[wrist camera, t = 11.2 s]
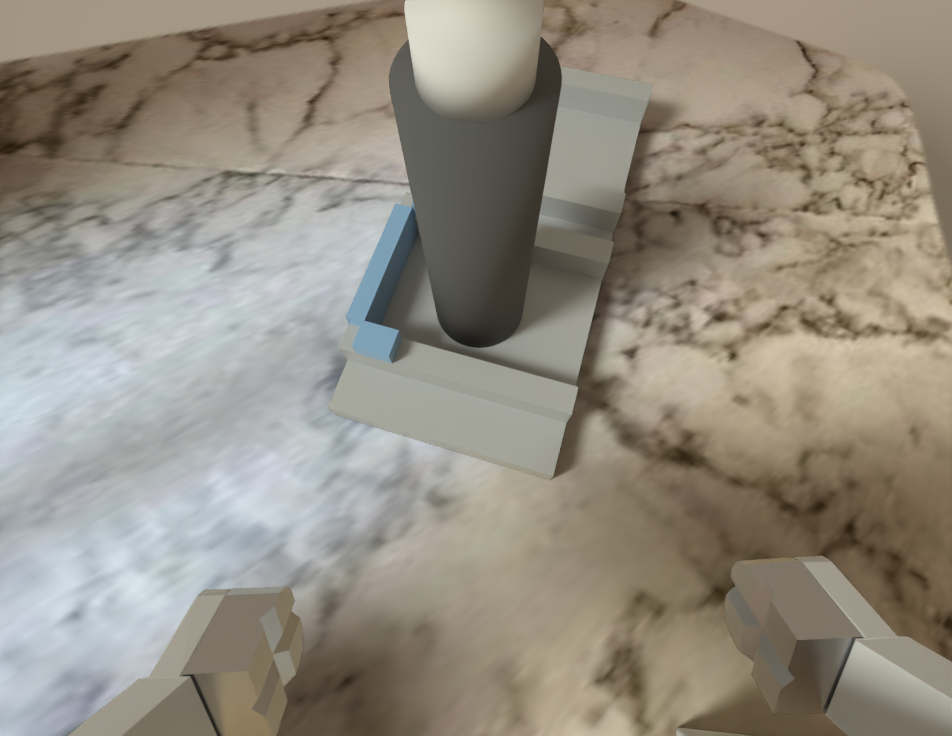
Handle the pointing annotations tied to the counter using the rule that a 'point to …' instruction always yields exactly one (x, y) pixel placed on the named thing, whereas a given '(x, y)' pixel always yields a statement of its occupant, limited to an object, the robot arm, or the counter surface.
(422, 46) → the grey bottle
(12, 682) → the counter surface
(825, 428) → the counter surface
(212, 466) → the counter surface
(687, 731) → the skincare box
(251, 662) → the robot arm
